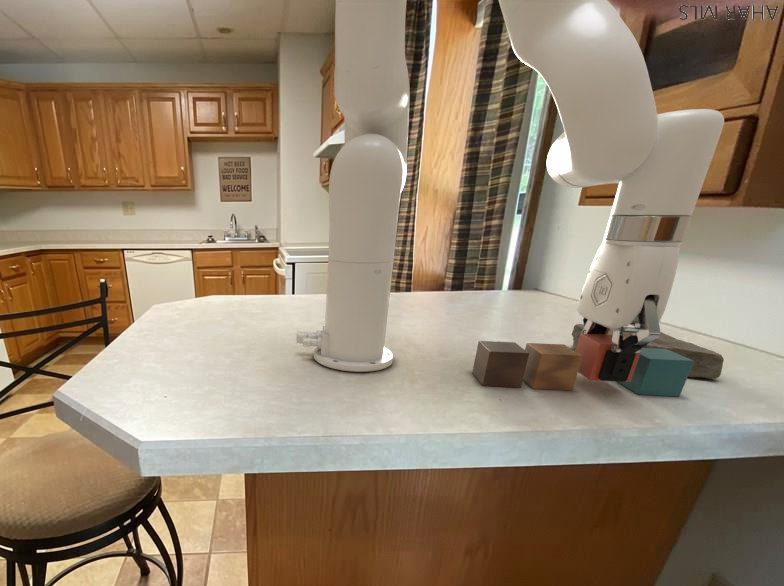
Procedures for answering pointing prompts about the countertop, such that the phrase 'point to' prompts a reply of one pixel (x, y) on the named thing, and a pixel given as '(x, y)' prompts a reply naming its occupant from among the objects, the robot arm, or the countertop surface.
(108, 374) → the countertop surface
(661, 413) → the countertop surface
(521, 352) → the walnut block
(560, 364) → the oak block
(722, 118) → the robot arm
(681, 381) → the teal block
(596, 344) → the terracotta block
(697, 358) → the grey stone slab
